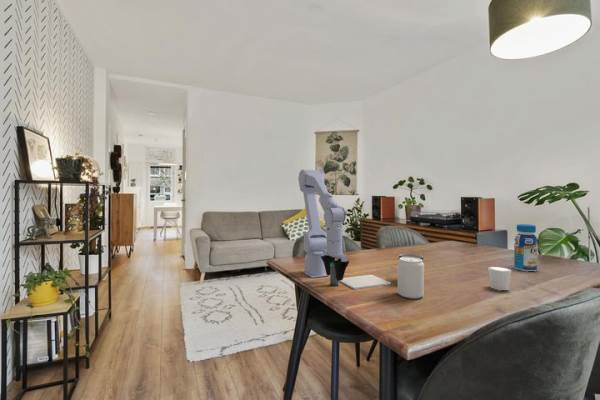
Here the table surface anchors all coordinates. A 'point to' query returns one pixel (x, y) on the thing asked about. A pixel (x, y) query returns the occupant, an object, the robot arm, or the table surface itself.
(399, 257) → the coffee mug
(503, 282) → the white cylinder
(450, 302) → the table surface
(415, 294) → the beverage can
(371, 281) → the paper pad
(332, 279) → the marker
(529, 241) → the blue supplement bottle
